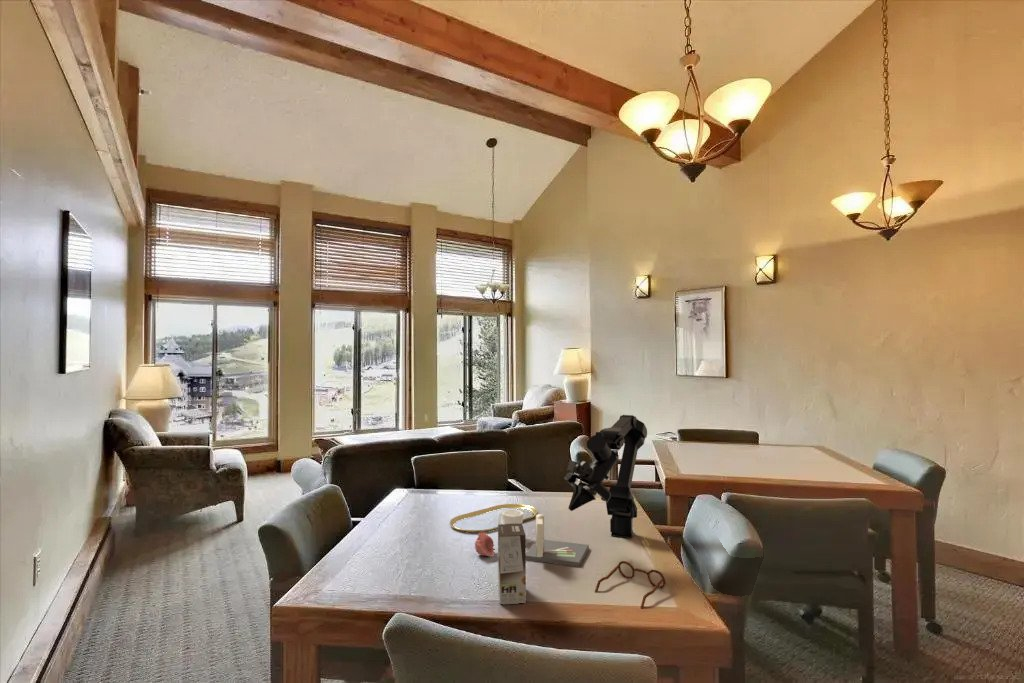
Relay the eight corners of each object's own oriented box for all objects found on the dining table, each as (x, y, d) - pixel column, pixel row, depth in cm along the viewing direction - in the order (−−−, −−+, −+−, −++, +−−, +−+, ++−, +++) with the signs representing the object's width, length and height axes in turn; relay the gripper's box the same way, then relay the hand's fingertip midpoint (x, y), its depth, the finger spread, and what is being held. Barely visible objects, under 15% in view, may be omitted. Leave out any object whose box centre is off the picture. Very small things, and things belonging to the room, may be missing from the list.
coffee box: (526, 604, 122) (526, 535, 122) (499, 605, 121) (499, 536, 122) (522, 586, 131) (522, 522, 131) (497, 587, 130) (497, 523, 131)
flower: (465, 534, 152) (480, 525, 151) (481, 538, 158) (495, 529, 157) (472, 560, 147) (487, 551, 146) (488, 563, 153) (503, 555, 152)
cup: (512, 543, 160) (512, 517, 161) (491, 535, 168) (491, 510, 168) (528, 538, 165) (528, 512, 165) (507, 530, 173) (507, 506, 173)
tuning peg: (536, 548, 153) (536, 512, 153) (571, 548, 152) (571, 512, 152) (535, 560, 144) (535, 522, 144) (573, 560, 143) (573, 522, 143)
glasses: (666, 591, 129) (666, 571, 129) (641, 611, 119) (641, 589, 119) (619, 576, 137) (619, 557, 138) (593, 594, 128) (592, 573, 128)
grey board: (588, 548, 156) (588, 544, 156) (579, 566, 143) (578, 562, 143) (537, 542, 161) (537, 538, 161) (523, 559, 148) (523, 554, 148)
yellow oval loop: (547, 515, 189) (547, 511, 189) (472, 539, 166) (472, 534, 166) (513, 505, 203) (513, 501, 203) (439, 525, 180) (439, 520, 180)
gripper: (568, 446, 162) (537, 486, 158) (599, 454, 145) (566, 499, 140) (591, 468, 165) (562, 509, 160) (624, 479, 147) (593, 524, 143)
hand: (569, 509), depth 151 cm, fingers closed
